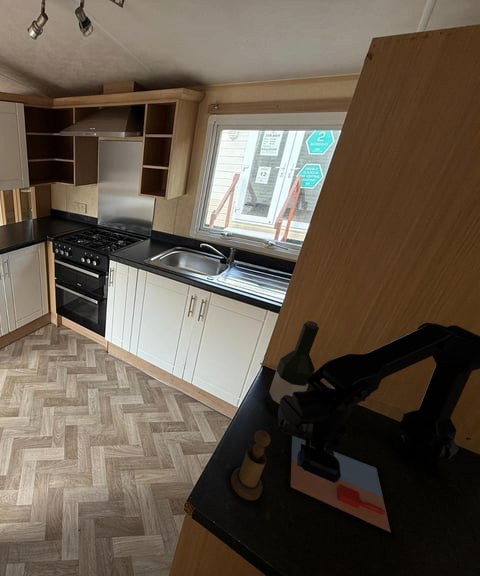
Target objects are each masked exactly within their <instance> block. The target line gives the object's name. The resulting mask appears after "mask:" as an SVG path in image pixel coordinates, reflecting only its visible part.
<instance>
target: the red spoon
mask: <svg viewBox="0 0 480 576" xmlns="http://www.w3.org/2000/svg"><path fill="white" fill-rule="evenodd" d="M337 495H338V500H339V501H341V502H344V503H346V504H348V505H350V506H353V507H355V508H357V509H358V508H359V506H360V505H361V506H363V507H365V508H367V509H370V510H372V511H374V512H377V513H379V514H381V515H384V514H385V511H384V510H383V509H382V508H380V507H377V506H375V505H373V504H370V503H368V502H366V501H363V500H361V499H360V496H359V492H358V491H355V490H353V489H350V488H348V487H346V486H343V485H341V484H339V486H338V487H337Z"/></svg>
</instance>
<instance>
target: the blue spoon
mask: <svg viewBox="0 0 480 576" xmlns="http://www.w3.org/2000/svg"><path fill="white" fill-rule="evenodd" d="M297 466H300V467H301V451H300V450H299V453H298V455H297Z"/></svg>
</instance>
